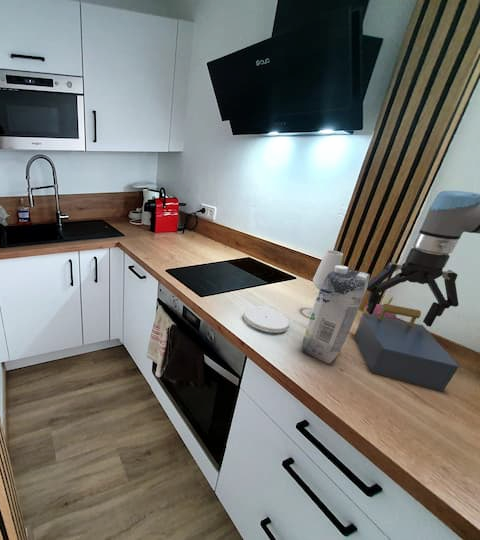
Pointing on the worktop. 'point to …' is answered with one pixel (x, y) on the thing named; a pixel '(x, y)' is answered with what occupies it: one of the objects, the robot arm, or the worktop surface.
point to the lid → (406, 336)
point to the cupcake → (379, 310)
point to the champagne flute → (324, 272)
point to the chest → (401, 363)
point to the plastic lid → (266, 319)
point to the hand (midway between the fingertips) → (397, 318)
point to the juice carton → (334, 312)
